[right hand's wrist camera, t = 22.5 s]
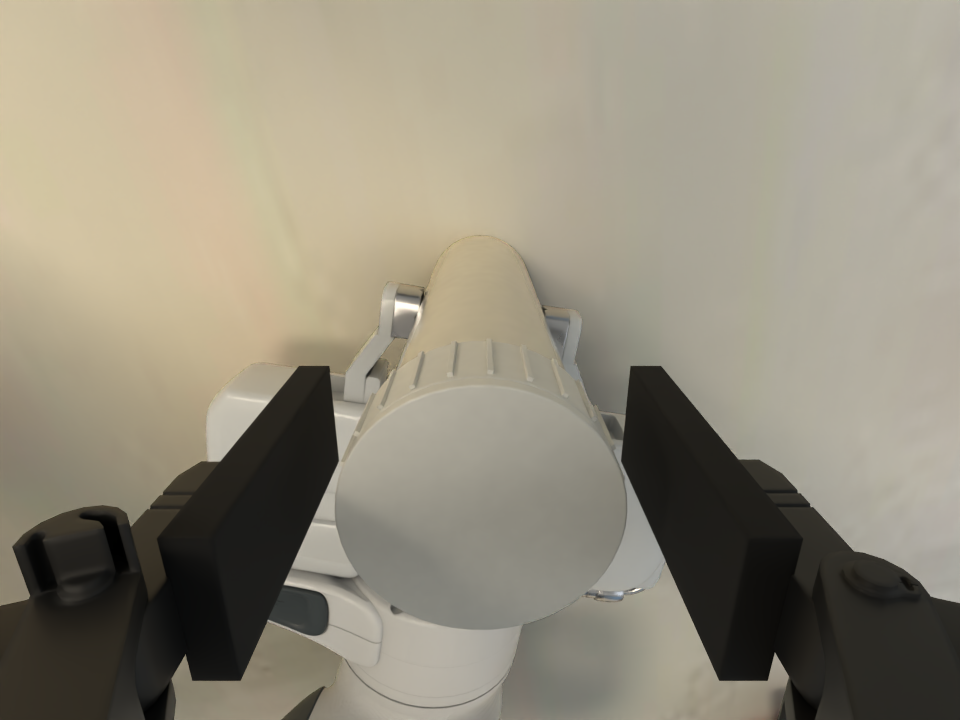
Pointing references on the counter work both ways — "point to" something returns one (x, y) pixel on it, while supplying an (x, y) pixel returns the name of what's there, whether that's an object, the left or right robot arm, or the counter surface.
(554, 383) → the lid
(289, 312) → the counter surface
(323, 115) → the counter surface
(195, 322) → the counter surface
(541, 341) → the jar
